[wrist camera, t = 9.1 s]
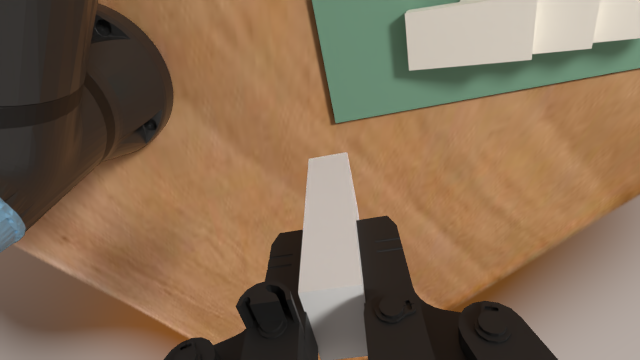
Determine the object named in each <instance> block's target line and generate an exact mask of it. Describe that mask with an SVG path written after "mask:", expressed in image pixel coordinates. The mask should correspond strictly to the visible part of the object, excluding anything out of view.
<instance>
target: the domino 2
mask: <svg viewBox="0 0 640 360" xmlns="http://www.w3.org/2000/svg"><path fill="white" fill-rule="evenodd" d="M463 1H469V0H460V2H463ZM599 5H600V0H537V9H536V20H535V30H534V41H533V51H532V54H539V53H550V52H561V51H571V50H582V49H592V45H593V39H594V33H595V28H596V22H597V16H598V11H599Z"/></svg>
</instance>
